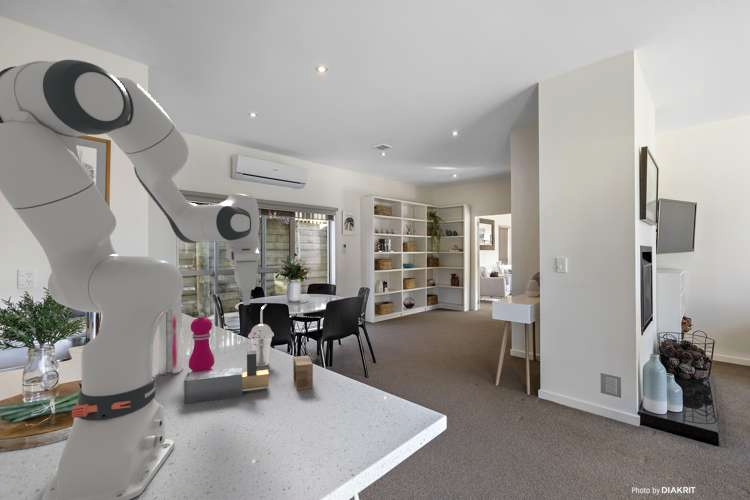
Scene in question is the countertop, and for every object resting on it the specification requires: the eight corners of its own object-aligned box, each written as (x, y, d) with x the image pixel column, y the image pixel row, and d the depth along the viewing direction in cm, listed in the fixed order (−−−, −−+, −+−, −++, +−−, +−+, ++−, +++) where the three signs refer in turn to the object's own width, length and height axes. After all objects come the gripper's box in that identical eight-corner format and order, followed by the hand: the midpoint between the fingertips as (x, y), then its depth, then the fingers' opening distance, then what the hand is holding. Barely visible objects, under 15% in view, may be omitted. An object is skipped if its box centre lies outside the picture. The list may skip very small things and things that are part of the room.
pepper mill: (204, 382, 105) (203, 315, 105) (183, 380, 107) (182, 314, 106) (219, 373, 112) (219, 310, 112) (199, 371, 114) (199, 310, 113)
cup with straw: (242, 366, 119) (242, 307, 119) (262, 358, 127) (261, 303, 127) (261, 370, 115) (261, 309, 115) (280, 361, 123) (280, 304, 123)
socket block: (312, 388, 101) (312, 363, 101) (296, 390, 100) (296, 365, 99) (308, 377, 109) (308, 355, 108) (293, 379, 107) (293, 357, 107)
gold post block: (268, 386, 99) (268, 352, 99) (189, 396, 92) (188, 360, 92) (268, 381, 102) (268, 349, 102) (191, 391, 96) (191, 356, 95)
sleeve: (242, 396, 96) (242, 374, 95) (184, 404, 91) (184, 380, 91) (242, 387, 101) (242, 366, 101) (187, 394, 96) (187, 372, 96)
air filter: (186, 368, 116) (185, 293, 116) (173, 375, 110) (172, 296, 109) (168, 367, 117) (167, 292, 117) (153, 375, 111) (153, 295, 110)
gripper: (228, 251, 107) (229, 296, 108) (234, 255, 88) (235, 309, 89) (250, 250, 110) (251, 294, 110) (260, 254, 91) (261, 307, 92)
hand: (244, 301), depth 100 cm, fingers open, 8 cm apart
